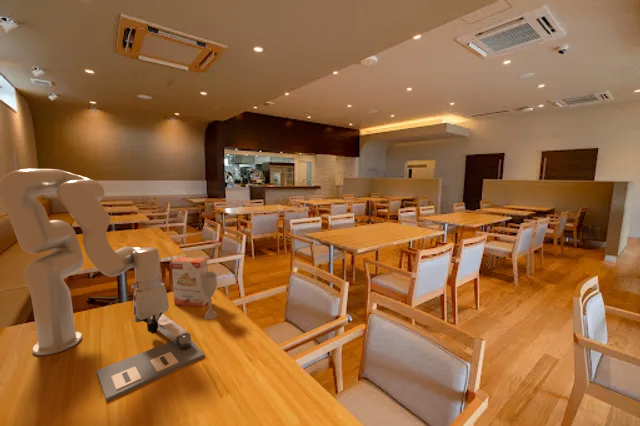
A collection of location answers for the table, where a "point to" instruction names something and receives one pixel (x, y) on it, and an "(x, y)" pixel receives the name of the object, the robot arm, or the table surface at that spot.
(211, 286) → the chalice
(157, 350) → the label board
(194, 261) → the cracker box
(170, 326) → the swing bar
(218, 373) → the table surface
